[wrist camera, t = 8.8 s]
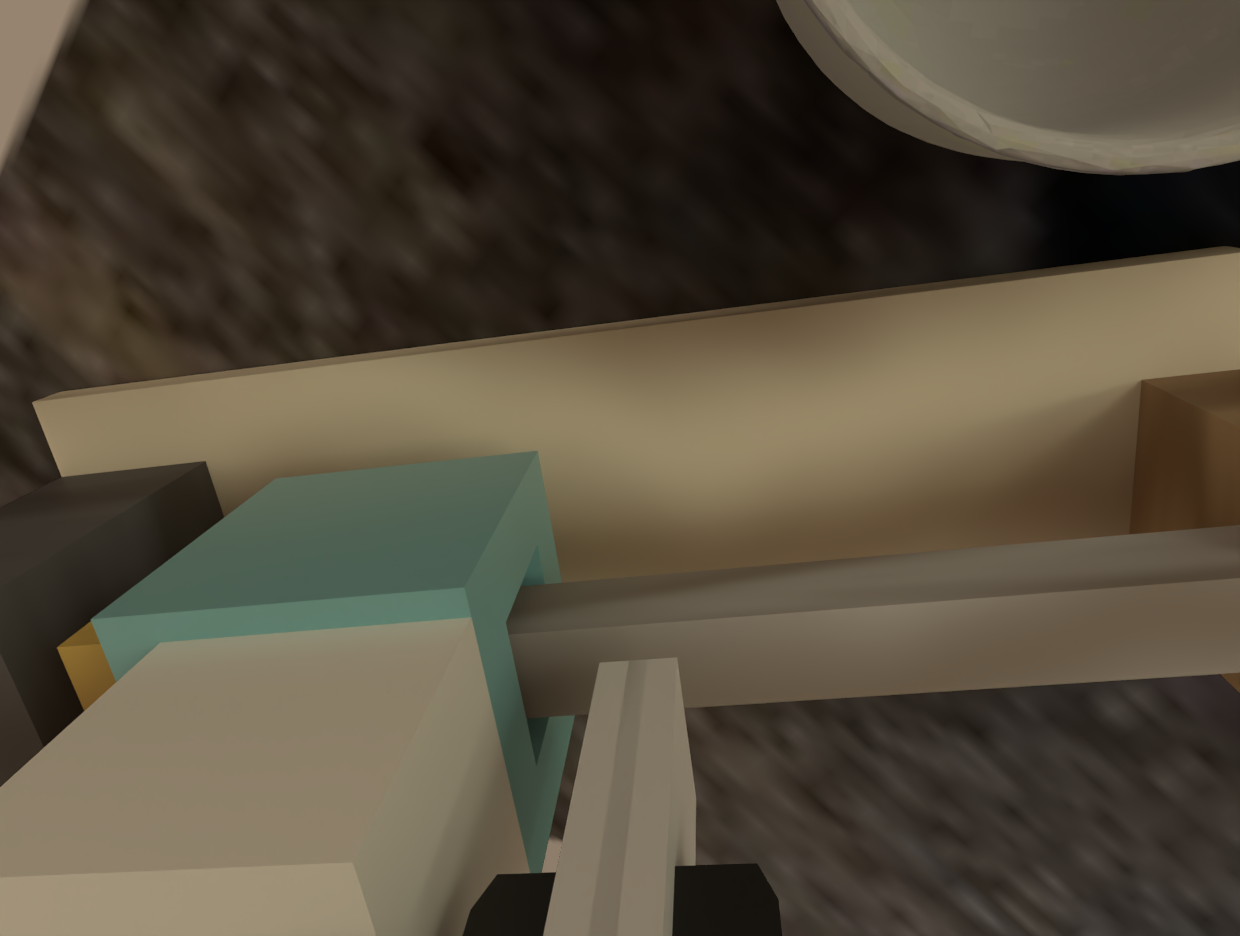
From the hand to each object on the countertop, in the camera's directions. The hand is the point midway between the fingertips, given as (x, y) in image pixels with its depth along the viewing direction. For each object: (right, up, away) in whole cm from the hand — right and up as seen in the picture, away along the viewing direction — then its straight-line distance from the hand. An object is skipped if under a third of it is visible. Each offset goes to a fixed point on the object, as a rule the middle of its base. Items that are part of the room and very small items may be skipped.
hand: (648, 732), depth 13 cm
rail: (0, +3, +8) cm, 9 cm away
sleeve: (-5, +1, +6) cm, 8 cm away
